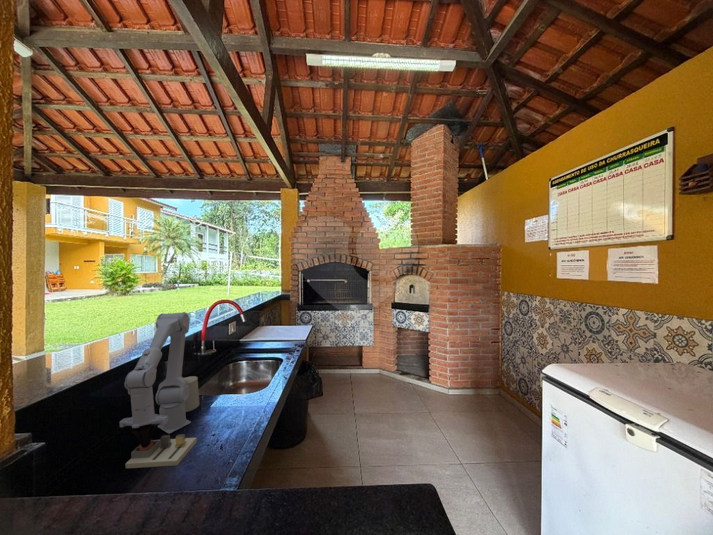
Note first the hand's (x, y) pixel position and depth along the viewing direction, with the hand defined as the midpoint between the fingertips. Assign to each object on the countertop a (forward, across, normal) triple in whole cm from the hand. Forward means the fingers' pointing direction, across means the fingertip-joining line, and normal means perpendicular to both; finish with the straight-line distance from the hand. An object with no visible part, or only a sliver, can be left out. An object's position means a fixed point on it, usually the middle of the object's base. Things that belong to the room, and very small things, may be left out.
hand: (146, 445), depth 91 cm
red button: (+2, 0, 0) cm, 2 cm away
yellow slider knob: (+2, +10, +2) cm, 10 cm away
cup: (+4, -4, +30) cm, 31 cm away
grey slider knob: (+2, +5, +2) cm, 6 cm away
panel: (+4, +5, 0) cm, 6 cm away
